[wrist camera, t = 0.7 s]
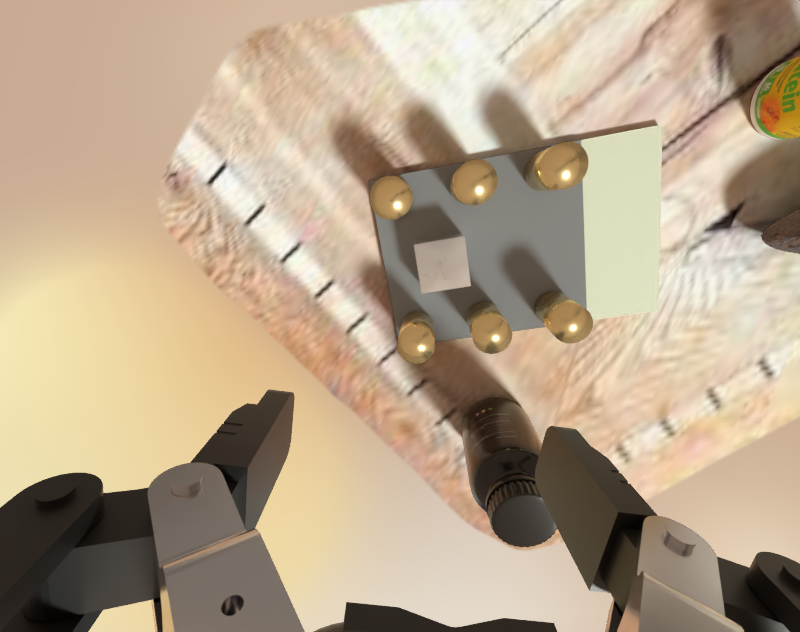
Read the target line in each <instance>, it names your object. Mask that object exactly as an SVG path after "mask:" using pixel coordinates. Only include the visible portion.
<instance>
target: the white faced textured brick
mask: <svg viewBox="0 0 800 632" xmlns="http://www.w3.org/2000/svg"><path fill="white" fill-rule="evenodd" d="M414 250H415V256H416V262H417V268H418V274H419V281H420V287H421V293H422V294H423V293H429V292H436V291H442V290H449V289H455V288H462V287H468V286H471V283H470V275H469V267H468V258H467V250H466V242H465V236H464V235H463V234H462V233H458V234H452V235H446V236H440V237H434V238H428V239H422V240H417V241H415V242H414Z"/></svg>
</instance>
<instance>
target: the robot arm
mask: <svg viewBox="0 0 800 632" xmlns="http://www.w3.org/2000/svg"><path fill="white" fill-rule="evenodd" d="M293 408H294V393H292V392H285V391H276V390H268V391H267V392H266V393H265V395H264V396H263V398H262V399H261V400H260V402H259V403H258V404H257V405H256V404H248V403H247V404H245V405H244V406H242V407H240V408H238V409H236V410H235V411H233V412H232V413H231V414H230V416H229V417H228V418H227V419H226V420H225V422H224V424H222V425H221V426H220V428H219V429H218V430H217V433H215V434H214V435H213V436H212V437H211V439H210V440H209V441H208V442H207V443H206V444H205V446H204V447H203V448H202V449H201V450H200V452H199V453H198V454H197V455H196V457H195V458H194V459H193V460H192V461H191V463H187V464H182V465H179V466H176V467H173V468H170V469H168V470H166V471H165V472H163V473H161V474H160V475H159V476H158V477H156V478H155V479H154V480H153V482H152V483H151V484H150V486H149V488H144V489H138V490H129V491H121V492H112V493H103V484H102V481H101V479H99V478H98V477H97V476H95V475H92V474H88V473H69V474H63V475H58V476H54V477H51V478H48V479H45V480H42V481H40V482H38V483H36V484H33V485H32V486H29V487H28V488H26V489H24V490H23V491H21V492H20V493H19V494H17V495H16V496H14V497H13V498H12V499H11V500H9V501H8V502H7V503H6V504H4V505H3V506H2V507H1V508H0V632H88V631H89V630H90V628H91V627H92V625H93V624H94V622H95V621H96V619H97V618H98V616H99V615H100V613H101V612H102V610H104V609H109V608H114V607H118V606H123V605H128V604H133V603H137V602H142V601H147V600H152V607H153V615H154V622H155V630H156V632H304V629H303V627H302V625H301V623H300V620H299V618H298V616H297V614H296V612H295V609H294V607H293V605H292V603H291V601H290V598H289V596H288V594H287V592H286V590H285V587H284V585H283V583H282V581H281V579H280V576H279V574H278V572H277V570H276V567H275V565H274V563H273V561H272V559H271V556H270V554H269V552H268V550H267V548H266V546H265V543H264V541H263V539H262V537H261V535H260V533H259V531H258V530H257V529H255V527H256V524H257V522H258V520H259V518H260V516H261V513H262V511H263V509H264V507H265V505H266V502H267V500H268V498H269V496H270V494H271V491H272V489H273V487H274V485H275V482H276V480H277V478H278V476H279V473H280V471H281V469H282V467H283V465H284V463H285V460H286V458H287V455H288V452H289V447H290V442H291V433H292V421H293ZM535 482H536V486H537V489H538V491H539V493H540V495H541V497H542V499H543V501H544V503H545V505H546V507H547V509H548V511H549V513H550V515H551V517H552V519H553V520H554V522H555V524H556V526H557V528H558V530H559V532H560V534H561V536H562V538H563V540H564V542H565V544H566V546H567V548H568V550H569V551H570V553H571V555H572V557H573V559H574V561H575V563H576V565H577V567H578V569H579V571H580V573H581V575H582V577H583V579H584V581H585V583H586V585H587V586H588V588H589V590H590V591H597V592H606V593H611V594H612V596H613V598H614V599H613V602H612V604H611V607H610V610H609V615H608V620H607V625H606V631H605V632H800V564H799V563H797V562H795V561H793V560H791V559H789V558H787V557H784V556H781V555H778V554H775V553H771V552H760V553H758V554H757V555H756V556H755V558H754V560H753V562H752V564H751V566H750V568H748V567H746V566H743V565H740V564H736V563H734V562H731V561H728V560H725V559H722V558H719V557H717V556H716V554H715V552H714V550H713V549H712V548H711V546H710V545H709V544H708V543H707V542H706V541H705V540H704V539H703V538H701V537H700V536H699V535H698V534H696V533H695V532H694V531H693V530H691V529H689V528H688V527H686V526H684V525H683V524H680V523H678V522H676V521H674V520H671V519H669V518H666V517H662V516H657V514H656V513H655V512H654V511H653V510H652V509H651V507H650V506H649V505H648V504H647V503H646V502H645V501H644V499H643V498H642V497H641V496H640V495H639V494H638V493H637V491H636V490H635V489H634V488H633V487H632V486H631V484H628V481H627V480H626V479H625V478H624V476H623V475H622V474H621V473H619V471H618V470H617V468H616V467H615V466H614V465H613V464H612V463H611V461H610V460H609V459H608V458H607V457H605V456H604V455H602V454H601V453H600V452H598V451H597V450H596V449H594V448H593V447H591V446H590V445H589V444H588V443H587V441H586V440H585V439H584V438H583V437H582V435H581V434H580V433H579V432H578V431H577V430H576V429H571V428H563V427H555V426H550V427H549V428H548V429H547V431H546V433H545V437H544V440H543V444H542V447H541V451H540V455H539V458H538V462H537V465H536V469H535ZM314 632H557V630H556V627H555V625H554V623H547V622H537V621H526V620H517V619H507V618H503V619H497V620H492V621H487V622H483V623H478V624H473V625H468V626H463V627H457V628H455V627H449V626H446V625H444V624H441V623H438V622H436V621H433V620H430V619H428V618H425V617H422V616H420V615H417V614H414V613H412V612H409V611H407V610H404V609H401V608H398V607H389V606H378V605H368V604H359V603H348V602H347V603H346V610H345V617H344V622H342V623H337V624H333V625H329V626H326V627H323V628H320V629H318V630H316V631H314Z"/></svg>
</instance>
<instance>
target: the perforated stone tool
mask: <svg viewBox="0 0 800 632" xmlns="http://www.w3.org/2000/svg"><path fill="white" fill-rule="evenodd" d="M761 236H762V240H763V241H764V242H765V243H766V244H767V245H769V246H771V247H773V248H775V249H779V250H783V251H787V252H793V253H799V254H800V209H798V210H796V211H794V212H792V213H790V214H788V215H786V216H785V217H783V218H781V219H779V220H778V221H776V222H775V223H773V224H772V225H771V226H769V227H768V228H766V230H765V231H764V232H763V234H762V235H761Z"/></svg>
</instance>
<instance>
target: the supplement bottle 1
mask: <svg viewBox="0 0 800 632" xmlns="http://www.w3.org/2000/svg"><path fill="white" fill-rule="evenodd" d="M462 437H463V444H464V451H465V457H466V463H467V469H468V476H469V482H470V487H471V491H472V494H473V497H474V499H475V500H476V502H477V503H478V505H479V506H480V507H481V508H482V509H483V510H484V511H486V512H487V514H488V517H489V519H490V523H491V527H492V529H493V530H494V533H495V534H496V535H498V537H499V538H500V539H502V540H503V542H507V543H508V544H510V545H513V546H519V547H530V546H535V545H538V544H541V543H542V542H545V541H547V539H549V538H551V536H552V535H553V534H554V533H555V530H556V529H557V526H556V524H555V522H554V520H553V519H552V517H551V515H550V513H549V511H548V509H547V507H546V505H545V503H544V501H543V499H542V497H541V495H540V493H539V491H538V489H537V486H536V482H535V469H536V465H537V462H538V458H539V455H540V451H541V447H542V443H541V441H540V439H539V437H538V435H537V433H536V431H535V429H534V427H533V425H532V423H531V421H530V419H529V417H528V416H527V414H526V413H525V411H524V410H523V409H522V408H521V407H520V406H519V405H517V404H516V403H514V402H512V401H509V400H506V399H501V398H492V399H487V400H484V401H481V402H479V403H477V404H476V405H474V406H473V407H472V408H471V409H470V410H469V411H468V412H467V414H466V415H465V417H464V420H463V423H462Z"/></svg>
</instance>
